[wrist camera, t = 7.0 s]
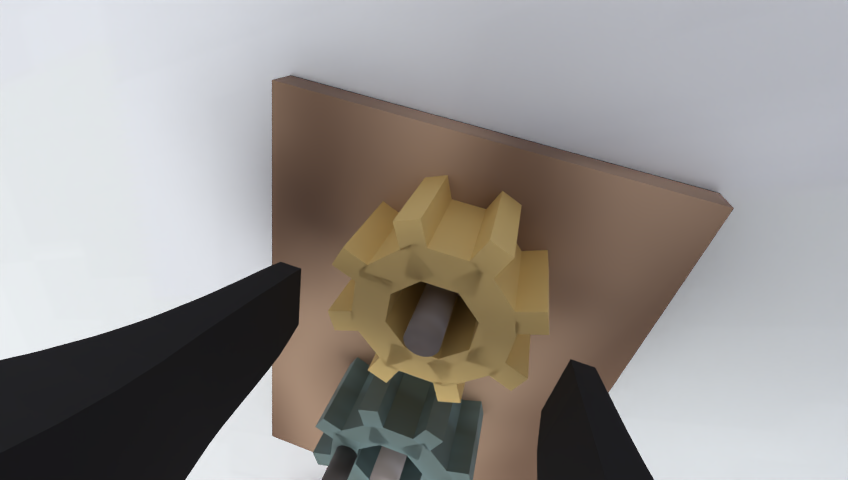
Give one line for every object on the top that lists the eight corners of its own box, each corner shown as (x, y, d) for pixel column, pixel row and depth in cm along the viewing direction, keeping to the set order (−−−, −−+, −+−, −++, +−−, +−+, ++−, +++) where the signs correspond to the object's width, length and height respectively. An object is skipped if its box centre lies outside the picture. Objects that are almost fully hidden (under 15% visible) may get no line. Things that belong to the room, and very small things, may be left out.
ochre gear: (574, 210, 11) (582, 267, 9) (512, 353, 14) (505, 425, 12) (381, 156, 12) (337, 193, 10) (360, 302, 15) (323, 360, 13)
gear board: (719, 193, 11) (841, 321, 7) (515, 509, 21) (506, 654, 16) (290, 75, 13) (143, 112, 8) (282, 419, 22) (212, 527, 18)
